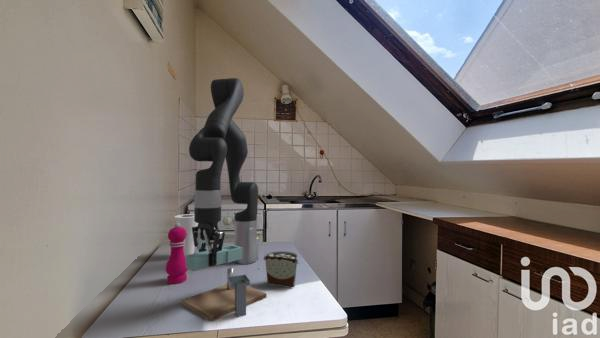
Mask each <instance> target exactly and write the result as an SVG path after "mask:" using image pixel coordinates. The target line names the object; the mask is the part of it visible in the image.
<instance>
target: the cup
mask: <svg viewBox="0 0 600 338" xmlns="http://www.w3.org/2000/svg"><path fill="white" fill-rule="evenodd" d="M174 222H175V224H176V223H180V227H182V228H184V229H185V230H186V233H187V236H186V238H185V239H184V241H185V245H184V255H185V258H186V255H190V254H194V252H195V249H196V247H195V246H194V240H193V233H192V227H196V226H198V223H196V222H195V221H194V213H191V214H190V213H188V214H187V213H186V214H177V215H174Z"/></svg>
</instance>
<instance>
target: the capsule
mask: <svg viewBox="0 0 600 338" xmlns="http://www.w3.org/2000/svg"><path fill="white" fill-rule="evenodd" d="M233 276H234V267H227V268H226V284H227V290H232V289H233V288H231V287H230V285H229V283H228V277H233Z"/></svg>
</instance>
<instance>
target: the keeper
mask: <svg viewBox="0 0 600 338" xmlns="http://www.w3.org/2000/svg"><path fill="white" fill-rule="evenodd" d="M228 283H229V285H230V287H231V288H234V287H235V311H234V314H235V316H236V317H242V316H246V315H247V306H246V286H251V285H250V283H251V281H250V279H249V277H248V276H247V275H246V274H241V275H233V277H228Z"/></svg>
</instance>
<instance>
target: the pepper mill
mask: <svg viewBox="0 0 600 338" xmlns="http://www.w3.org/2000/svg"><path fill="white" fill-rule="evenodd" d="M167 233H168V234H167V238H168V240H169V243H168V244H169V247H170V255H169V258H168V260H167V262H166V266H165V272H166V274H167V277H166V282H167V283H168V284H170V285H177V284H181V283H182V284H183V283H185V282H186V281H187V279H188V278H187V276H188V275H187V272H188V270H189V269H187V268H186V258H185V255H184V245H185V241H184V239H185V238H186V236H187V233H186V230H185V229H184V228H182V227H180V223H176V222H175V224H174V227H172V228H171V229H169V230H168V232H167Z"/></svg>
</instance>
